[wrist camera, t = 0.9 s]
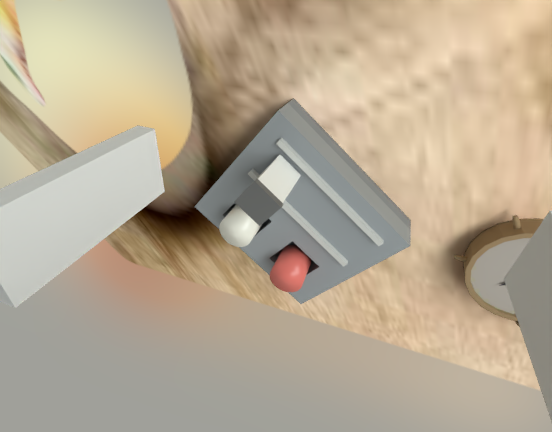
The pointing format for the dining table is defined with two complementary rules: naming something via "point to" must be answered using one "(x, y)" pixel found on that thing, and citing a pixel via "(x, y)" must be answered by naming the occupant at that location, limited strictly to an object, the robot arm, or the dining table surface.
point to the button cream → (238, 227)
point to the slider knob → (268, 191)
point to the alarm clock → (496, 263)
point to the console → (313, 204)
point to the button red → (290, 269)
